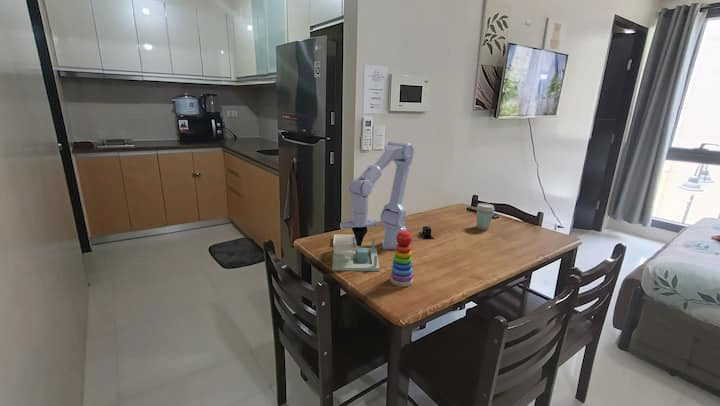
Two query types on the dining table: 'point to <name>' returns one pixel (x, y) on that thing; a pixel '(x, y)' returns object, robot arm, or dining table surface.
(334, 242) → the dish
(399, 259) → the stacking toy
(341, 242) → the cover
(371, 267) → the puzzle board
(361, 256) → the block
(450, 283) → the dining table surface
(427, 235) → the black box
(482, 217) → the coffee cup
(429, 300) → the dining table surface
